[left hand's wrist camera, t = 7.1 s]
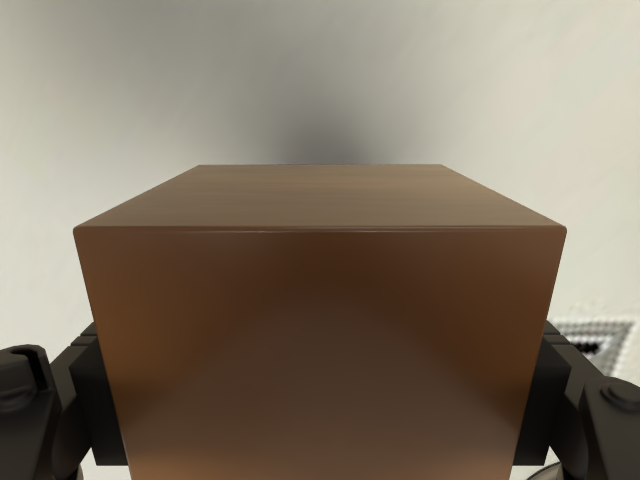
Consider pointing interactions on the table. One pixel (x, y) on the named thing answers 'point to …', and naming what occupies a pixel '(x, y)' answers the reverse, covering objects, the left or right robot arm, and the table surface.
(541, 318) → the brown wooden bar
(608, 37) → the table surface
